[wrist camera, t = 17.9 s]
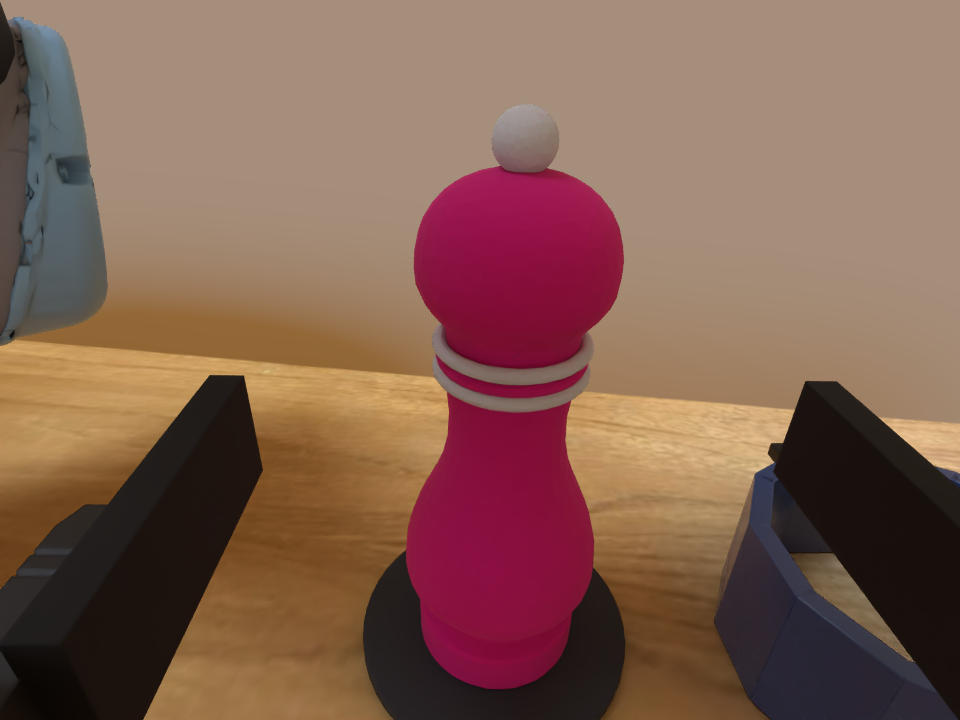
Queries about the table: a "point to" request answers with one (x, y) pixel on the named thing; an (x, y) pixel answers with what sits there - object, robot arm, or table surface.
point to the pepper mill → (509, 405)
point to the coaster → (475, 710)
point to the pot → (806, 626)
